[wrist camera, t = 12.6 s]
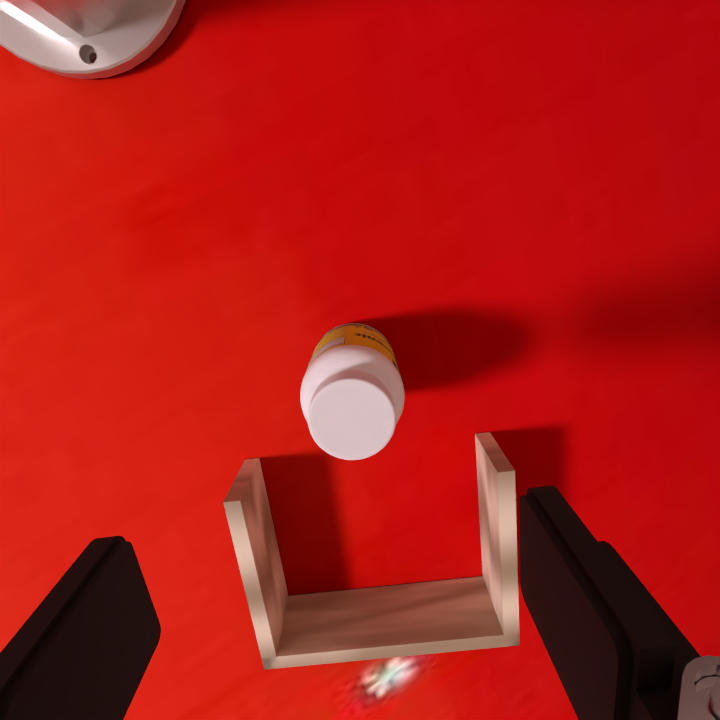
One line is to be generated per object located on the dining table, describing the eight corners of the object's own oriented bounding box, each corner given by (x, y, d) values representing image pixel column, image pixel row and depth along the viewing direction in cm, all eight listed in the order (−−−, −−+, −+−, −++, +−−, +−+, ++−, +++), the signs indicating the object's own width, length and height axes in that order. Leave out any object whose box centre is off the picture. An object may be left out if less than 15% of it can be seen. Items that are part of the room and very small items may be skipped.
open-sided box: (245, 459, 30) (223, 502, 25) (489, 432, 29) (515, 470, 25) (278, 607, 34) (264, 669, 29) (496, 585, 33) (519, 645, 28)
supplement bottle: (410, 369, 28) (435, 434, 19) (345, 413, 29) (339, 496, 20) (363, 304, 27) (364, 340, 18) (296, 352, 28) (265, 410, 19)
